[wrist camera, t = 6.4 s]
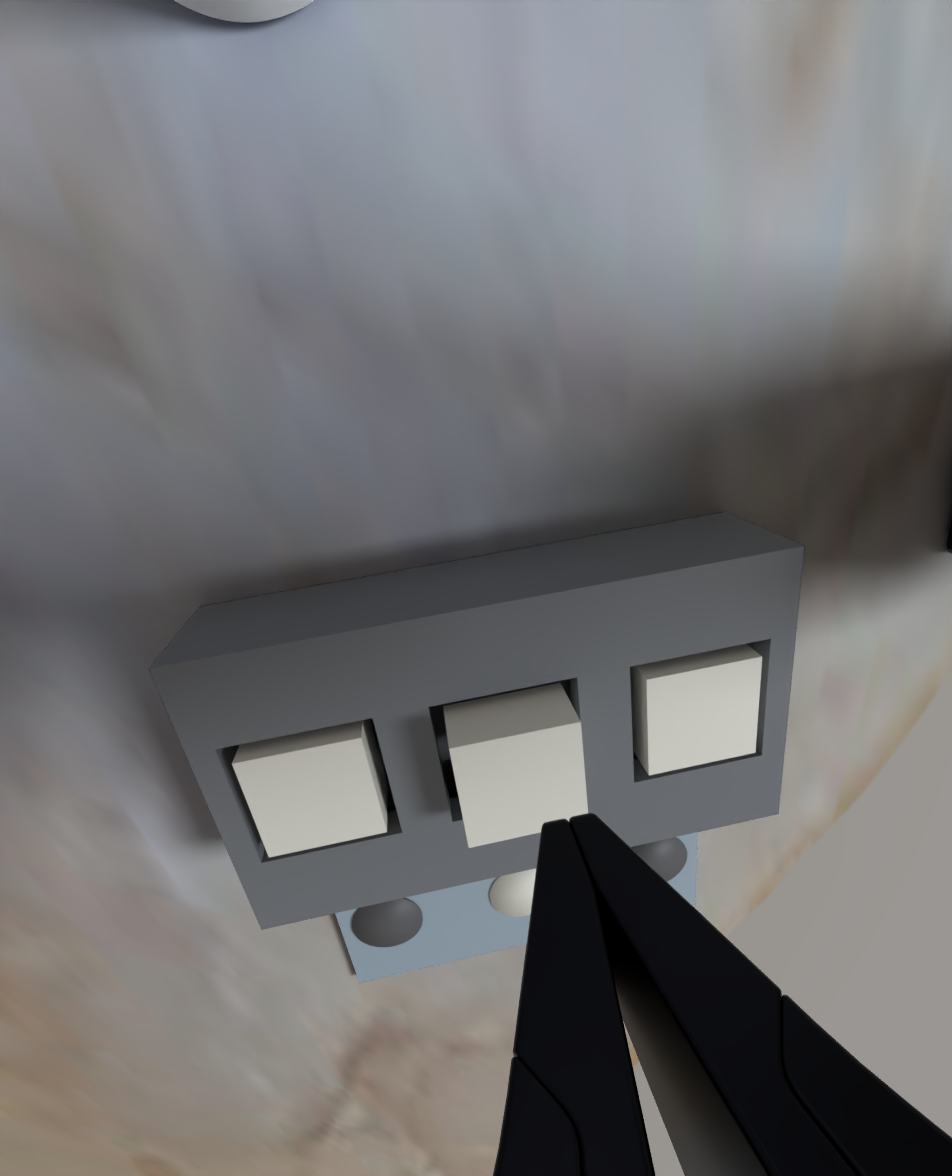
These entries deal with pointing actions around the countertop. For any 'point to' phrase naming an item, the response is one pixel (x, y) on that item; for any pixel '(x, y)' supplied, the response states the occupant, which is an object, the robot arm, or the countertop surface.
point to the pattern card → (475, 916)
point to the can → (245, 8)
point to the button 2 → (695, 708)
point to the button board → (482, 693)
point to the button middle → (516, 762)
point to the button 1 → (314, 787)
